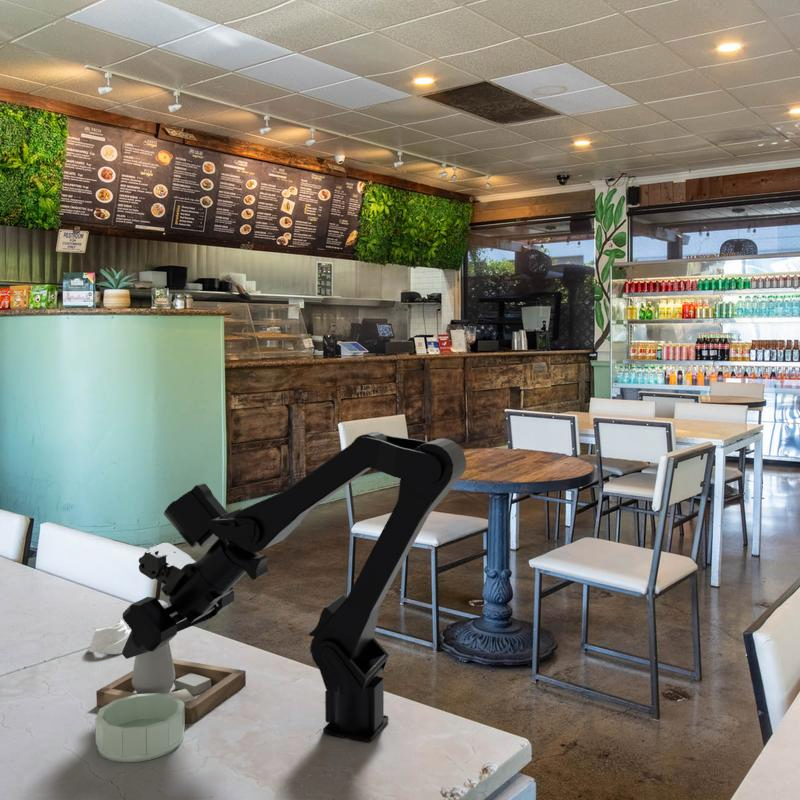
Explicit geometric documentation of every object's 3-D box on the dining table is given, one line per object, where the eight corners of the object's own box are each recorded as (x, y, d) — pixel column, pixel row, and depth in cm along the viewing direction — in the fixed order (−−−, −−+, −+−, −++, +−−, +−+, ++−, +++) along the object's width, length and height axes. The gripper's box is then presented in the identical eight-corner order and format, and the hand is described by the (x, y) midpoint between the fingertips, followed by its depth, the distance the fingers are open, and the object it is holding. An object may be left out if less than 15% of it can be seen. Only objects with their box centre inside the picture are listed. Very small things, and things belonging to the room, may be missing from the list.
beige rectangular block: (196, 711, 107) (195, 699, 106) (173, 717, 105) (173, 705, 105) (185, 700, 110) (185, 688, 110) (164, 705, 108) (163, 694, 108)
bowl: (200, 730, 100) (199, 700, 100) (148, 768, 91) (148, 736, 91) (134, 717, 104) (134, 688, 104) (78, 753, 95) (78, 722, 94)
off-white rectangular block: (211, 690, 113) (210, 678, 113) (194, 697, 111) (194, 686, 111) (191, 683, 115) (191, 672, 115) (175, 691, 113) (174, 679, 113)
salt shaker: (162, 706, 107) (160, 610, 106) (123, 702, 108) (121, 607, 108) (182, 688, 113) (181, 597, 112) (145, 684, 114) (143, 594, 113)
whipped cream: (104, 667, 123) (103, 638, 122) (76, 655, 126) (75, 626, 126) (145, 647, 130) (145, 619, 129) (118, 636, 133) (117, 608, 132)
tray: (245, 684, 114) (245, 670, 114) (191, 724, 102) (191, 708, 102) (158, 669, 119) (157, 656, 119) (96, 705, 107) (96, 691, 107)
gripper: (215, 513, 117) (151, 580, 121) (134, 542, 99) (63, 619, 103) (264, 572, 115) (197, 638, 119) (190, 612, 97) (115, 688, 101)
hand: (146, 643), depth 111 cm, fingers open, 9 cm apart
